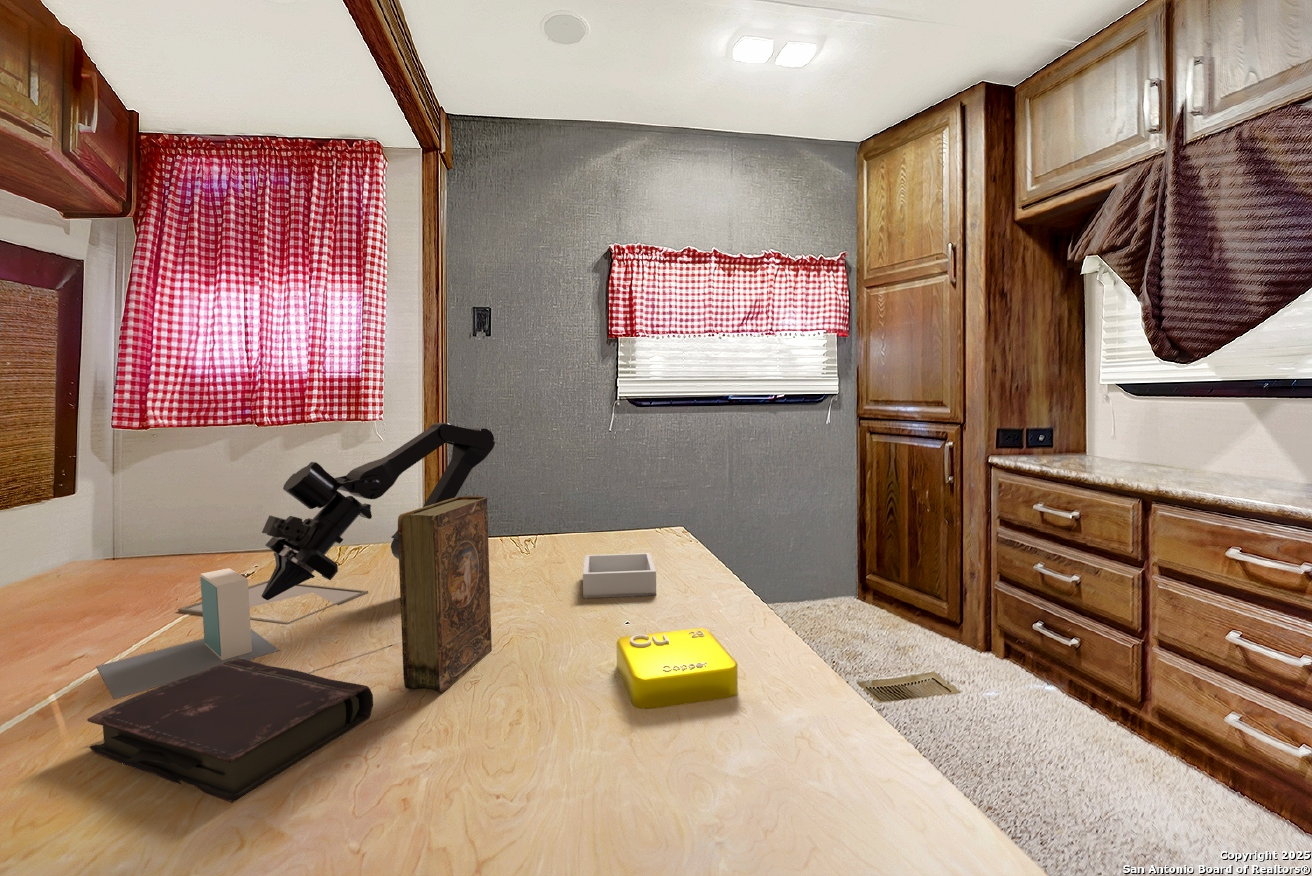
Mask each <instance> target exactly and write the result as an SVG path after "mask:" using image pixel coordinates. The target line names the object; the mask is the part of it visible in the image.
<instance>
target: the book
mask: <svg viewBox="0 0 1312 876" xmlns="http://www.w3.org/2000/svg"><path fill="white" fill-rule="evenodd" d="M488 521H489V519H488V498H487V496H478V495H477V496H475V495H474V496H473V495H470V496H468V495H467V496H456V497H455V498H452V499H448V500H445V501H442V502H439V503H435V504H432V505H429V506H426V507H423V506H422V507H419V508H416V509H413V510H410V511H407V512H403V513H400V514H399V515H398V517H397V530H398V548H399V559H398V569H399V590H400V592H399V596H400V599H399V600H400V621H401V622H400V623H401V644H402V646H401V647H402V648H401V649H402V673H403V684H404V688H405V689H407V690H412V689H418V688H419V689H420V688H429V689H434V690H436V691H438V692H439V693H444V692H446V691H447V690H448V689H449V688H450V687H451V686H452V685H454V684H455V683H456V682H457V681H459V680H460V679H461V678H462V677H463V676H464V675H466V674H467V673H468V672H469V671H471V669H472V668H473V667H474V666H476V665H477V664H478V663H479V662H480V661H481V660H482V659H483V658H485V657H486V656H487V655H488V654H489V653H490V652H492V651H493V649H492V646H493V645H492V619H491V618H492V617H491V616H492V613H491V611H492V610H491V585H490V581H491V580H490V557H489V556H490V554H489V553H490V549H489V523H488Z"/></svg>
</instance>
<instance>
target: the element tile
mask: <svg viewBox="0 0 1312 876" xmlns="http://www.w3.org/2000/svg"><path fill="white" fill-rule="evenodd" d="M615 644H616V648H615V649H616V668H617V671H618V673H619V677H620V679H621V681H622V683H623V686H624V688H625V691H626V694H627V696H628V699H629V700H630V704H631V705H632V706H634V708H637V709H640V710H652V709H660V708H669V707H674V706H682V705H688V704H695V703H702V702H711V701H717V700H724V699H729V698H732V697H735V696H736V695H737V694H738V689H739V688H738V663H737V661H736V660H735V659H734V658H733V656H732V655H731V654H730V653H729V652H728V651H727V650H726V649H725V647H724V646H723V645H722V644H721V643H720V642H719V640H718V639H717V637H716V636H714V634H712V632H711V631H710V630H707V629H706V628H702V627H701V628H689V629H680V630H672V631H663V632H653V633H644V634H643V633H641V634H634V635H625V636H621V637H619V638H618V639H617V641H616V643H615Z"/></svg>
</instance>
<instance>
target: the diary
mask: <svg viewBox="0 0 1312 876" xmlns="http://www.w3.org/2000/svg"><path fill="white" fill-rule="evenodd" d="M373 707H374V695H373V693H372V690H371V689H370V687H369V686H368V685H363V684H359V683H354V682H347V681H342V680H338V679H337V680H336V679H330V678H326V677H322V676H320V675H315V674H312V673H308V672H304V671H301V670H300V671H299V670H298V669H297V670H296V669H290V668H286V667H285V668H284V667H277V666H271V665H266V664H263V663H259V662H256V661H252V660H246V659H242V658H238V657H237V658H235V659H232V660H230V661H227V662H225V663H223V664H220V665H217V666H215V667H212V668H210V669H207V670H205V671H202V672H199V673H196V674H193V675H190V676H187V677H184V678H182V679H179V680H176V681H173V682H170V683H168V684H165V685H162V686H158V687H155V688H152V689H149V690H148V691H146V692H143V693H141V694H137V695H136V696H133V697H131V698H129V699H126V700H124V701H122V702H119V703H118V704H114V705H113V706H111V707H109V708H106V709H104V710H102V711H99V712H97V713H95V714H93V715H92V716H90V717H89V718H87V721H86V722H88V723H90V724H94V725H99V726H102V734H103V743H100V744H94V745H92V744H91V745H89V749H90V750H91V751H92V752H93V753H94V754H96V755H99V756H101V757H104V758H106V759H109V760H110V761H111V760H112V761H114V762H115V763H119V764H121V765H124V766H127V765H128V767H130V768H133V769H137V770H139V769H140V771H142V772H147V773H150V774H154V775H156V776H158V777H160V778H162V779H164V780H167V781H170V782H171V783H175V784H180V785H182V782H183V783H186V784H189V785H192V786H194V787H196V788H197V789H198V790H200V791H202V792H203V793H204V794H208V795H210V796H212V797H215V798H217V799H219V800H223V801H224V802H225V801H226V802H228V803H231V804H233V803H235V802H236V801H238V800H239V799H241V798H242V797H245V796H246V795H247V794H249V793H251V792H252V791H254V790H255V789H257V788H259V787H261V786H262V785H263V784H266V782H269V781H270V780H272V779H273V778H275V777H276V776H278V775H280V774H281V773H283V772H284V771H286V770H288V769H289V768H291V767H293V766H294V765H295V764H298V763H299V762H300V761H302V760H304V759H306V758H308V757H309V756H310V755H312V754H314V753H315V752H316V751H319V750H320V749H322V748H323V747H325V746H327V745H328V744H330V743H331V742H333V741H335V740H337V739H338V738H340V737H341V736H343V735H344V734H346V733H348V732H349V731H351V730H352V729H354V728H356V727H357V726H359V725H360V724H362V723H364V722H365V721H367V720H368V719H370V717H371V715H372V710H373ZM122 763H123V764H122Z"/></svg>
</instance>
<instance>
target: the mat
mask: <svg viewBox="0 0 1312 876" xmlns="http://www.w3.org/2000/svg"><path fill="white" fill-rule="evenodd" d="M251 642H252V652H249V653H246V654H242V655H239V656H235V657H232V658H229V659H225V660H221V659H220V658H219V657H218V656H217V655H216V654H215V653H214V652H213V651H212V650H211V649H210V648H209V647H208V646H207V645H205V642H204V638H201V639H197V640H192V641H188V642H185V643H182V644H177V645H174V646H169V647H166V648H161V649H157V650H154V651H151V652H147V653H142V654H138V655H135V656H130V657H127V658H124V659H123V658H122V659H118V660H115V661H111V662H109V663H108V662H107V663H104V664H100V665H97V666H96V669H97V670H98V672H99V674H100V676H101V678H102V679H103V681H104V683H105V685H106V687H107V690H108V691H109V693H110V694H111V696H112V698H113V700H116V699H120V698H123V697H127V696H131V695H134V694H138V693H141V692H144V691H147V690H148V691H149V690H152V689H155V688H158V687H160V686H163V685H165V684H168V683H170V682H173V681H176V680H179V679H182V678H184V677H187V676H190V675H193V674H196V673H199V672H202V671H205V670H207V669H210V668H212V667H215V666H217V665H220V664H223V663H225V662H227V661H230V660H232V659H235V658H237V657H238V658H242V659H246V660H249V661H251V660H253V659H256V658H260V657H263V656H267V655H270V654H273V653H276V652H280V651H281V650H280V649H279V648H277V647H276V646H275V645H273V644H272V643H271V642H269V641H268V640H267V639H265V638H264V637H262V636H261V635H260V634H259V633H257V632H256V631H254V629H252V628H251Z"/></svg>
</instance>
